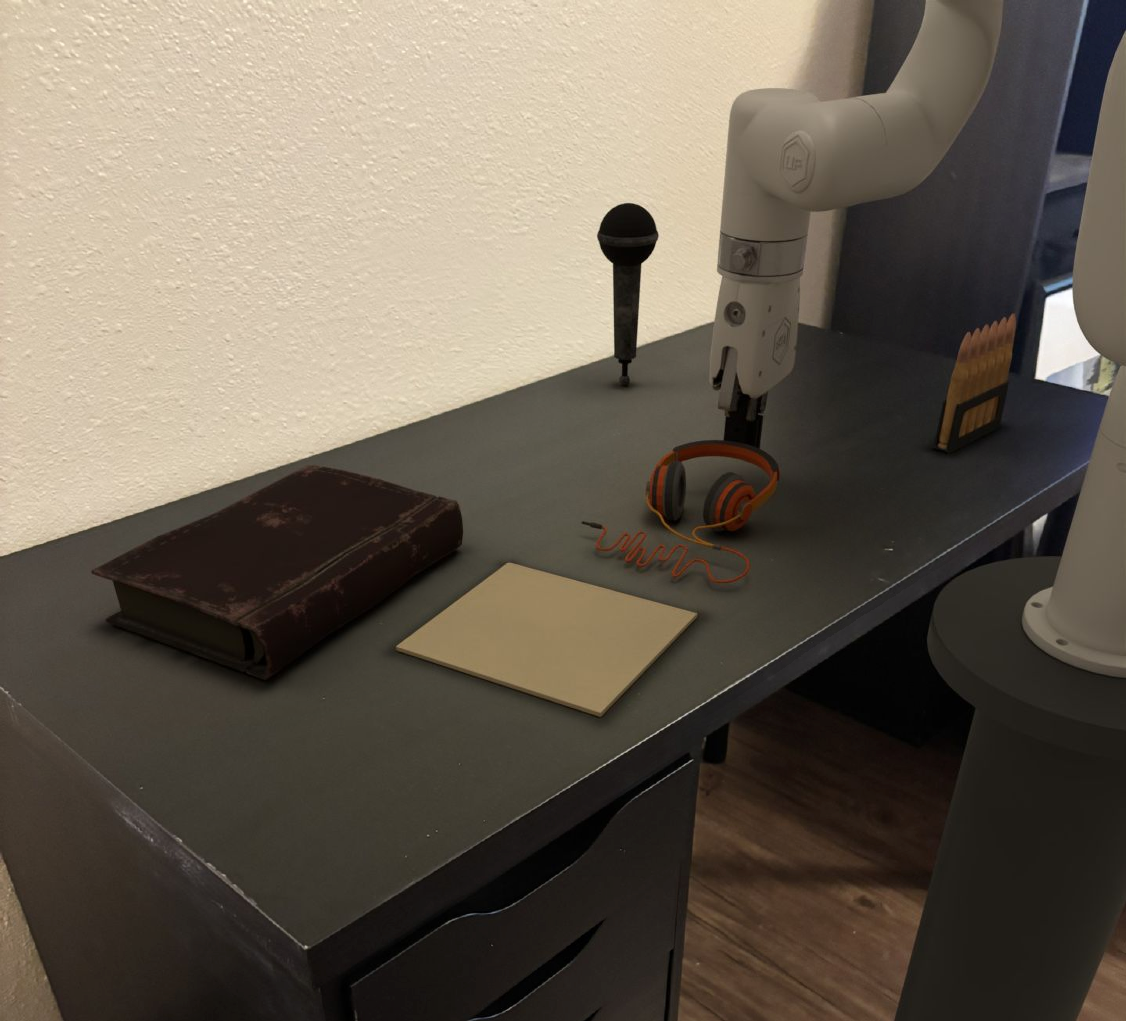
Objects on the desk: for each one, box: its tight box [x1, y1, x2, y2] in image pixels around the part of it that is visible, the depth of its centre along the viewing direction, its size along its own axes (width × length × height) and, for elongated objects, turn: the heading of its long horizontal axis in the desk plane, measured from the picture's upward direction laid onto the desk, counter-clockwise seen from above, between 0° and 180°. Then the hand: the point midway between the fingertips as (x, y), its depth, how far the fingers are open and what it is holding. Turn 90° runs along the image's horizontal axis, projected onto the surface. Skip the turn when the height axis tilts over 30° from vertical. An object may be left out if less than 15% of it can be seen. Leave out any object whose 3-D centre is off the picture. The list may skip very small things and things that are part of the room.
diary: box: [90, 464, 464, 681], centre depth 92 cm, size 19×25×5 cm
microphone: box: [596, 202, 659, 387], centre depth 127 cm, size 7×7×20 cm
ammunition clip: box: [932, 313, 1017, 454], centre depth 115 cm, size 11×2×12 cm, turn 134°
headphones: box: [581, 439, 781, 584], centre depth 100 cm, size 17×5×20 cm
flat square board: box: [395, 562, 698, 718], centre depth 87 cm, size 18×16×1 cm
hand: (740, 454), depth 107 cm, fingers closed
